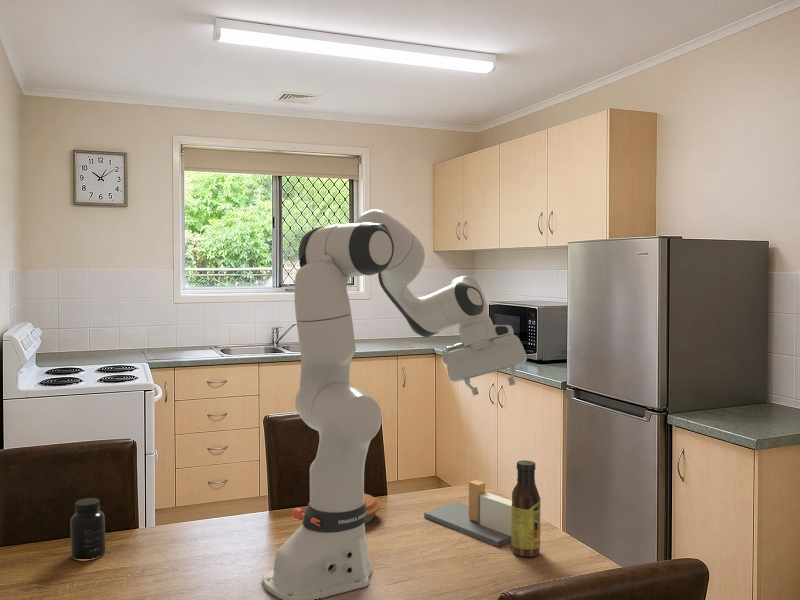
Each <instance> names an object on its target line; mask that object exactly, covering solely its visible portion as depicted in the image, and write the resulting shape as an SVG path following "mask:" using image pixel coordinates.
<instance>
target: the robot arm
mask: <svg viewBox="0 0 800 600" xmlns="http://www.w3.org/2000/svg"><path fill="white" fill-rule="evenodd" d="M425 255H426V253H425V249H424V245H423V243H422V241H420V239H419V238H418V237H417V236H416V235H415V234H414V233H413V232H412V231H411V230H410V229H409V228H407V227H406V225H404V224H403V223H401V221H399V220H398V219H397V218H395V217H393V216H392V215H390V214H388V213H387V212H384V211H383V210H381V209H380V210H379V209H370V210H368V211H365V212H363V213H362V214H361V215H359V216H358V217H357V219H356V220H355V223H345V222H344V223H343V222H341V223H337V224H336V223H335V224H331V225H327V226H318V227H315V228H313V229H311V230H309V231H307V232H306V233H304V235H303V236H302V238H301V239H300V242H299V247H298V260H299V262H298V263H299V264H298V265H299V266H300V267H299V269H298V270H297V271H296V274H295V278H294V310H295V319H296V329H297V336H298V341H299V342H298V343H299V349H300V351H299V352H300V359H301V360H300V377H299V378H300V380H299V389H298V390H297V393H296V395H295V402H294V404H295V409H296V412H297V413H298V415H299V417H300V418H301V420H302V421H303V422H304V423H305V424H306V425H307V426H308V427H309V428H311V429H313V430H314V431H318V435H319V440H318V441H319V443H318V446H317V447H318V448H317V452H316V456H315V459H314V460H313V461H312V463H311V464H310V467H309V502H308V503H307V508H306V510H304V509H301V508H300V507H296V508H294V509H293V511H292V517H293V518H295V519H297V520H300V521H302V524H301V525H300V526H299V527H298V528H297V529H296V530H295V532H293V534H292V535H291V536H290V537H289V538H288V539H287V540H286V541H285V542H283V544H282V545H281V546H280V547H279V548H278V549H277V551H276V554H275V557H274V565H273V569H272V570H270V571H268V572H266V573H264V574H263V575H262V581H261V582H262V585H263V587H264V588H265V590H267V592H268V593H270V594H271V595H273V596H275V597H276V598H278V599H280V600H314V599H317V600H319V598H320V599H323V598H327V597H331V595H332V596H334V595H339V594H342V593H346V592H350V591H353V590H358V589H360V588H361V589H362V588H365V587H367V586H369V585H370V579H369V578H370V575H372V573H373V566H372V563H371V560H370V559H371V558H370V554H369V551H368V545H367V538H366V526H365V525H366V524H365V521H366V502H365V501H364V494H365V465H366V459H367V455H368V452H369V447H370V443H371V441H372V440H373V438H375V437H376V435H377V434H378V432H379V431H380V429H381V425H382V419H383V416H382V415H383V414H382V411H381V408H380V407H381V406H380V405H379V403H378V402H377V401H376V400H375V399H374V398H373V397H372V396H371V395H370V394H369V393H368V392H366V391H364V390H363V389H361V388H357V387H354V386H352V385H351V382H350V372H351V371H350V369H351V362H352V360H353V357H354V356H355V353H356V348H357V347H356V338H355V331H354V326H353V325H354V324H353V317H352V309H351V304H350V299H349V294H348V290H347V289H348V282H349V279H350V278H355V277H360V276H373V275H377V276H378V282H379V285H380V287H381V288H382V290H383V292H384V293H385V294H386V296H387V297H388V298H389V300H390V301H391V302H392V303H393V305H394V306H395V307H396V309H398V311H399V312H400V313H401V315H402V316H403V317H404V319H406V322H407V324H408V325H409V327H410V329H411V330H412V331H413V332H414V333H415V334H416V335H419V336H421V337H423V338H431V337H432V336H434V335H436V334H438V333H440V332H441V331H444V330H447V329H449V328H451V327H454V326H456V325H458V333H459V336H460V340H461V342H459V343H456V344H454V345H449V346H446V347H445V348H444V349H443V350H442V352H441V359H442V361H443V363H444V364H445V365H446V370H447V375H448V378H449V381H450V382H452V383H458V382H462V381H464V385H466V386H467V387H468V388H469V389H470V390H471V393H472V396H473V397H475V396H478V395H480V394H479V391H478V390H479V389H478V387H477V386H473V385H472V384H471V379H474V378H476V377H481V376H483V375H487V374H491V373H494V372H495V373H496V372H498V371H502V370H505V369H509V372H511V375H510V377H508V378H507V381H508V385H509V387H511V386H515V385H516V380H515V375H516V369H517V368H516V367H517V366H520V365H523V364H525V363H526V362H527V360H528V356H527V353H526V350H525V348H524V346H523V343H522V342H521V339H520V338H519V336H517V335H516V334H514V328H513V327H512V325H509V324H507V325H506V324H493V321H492V319H491V317H490V316H489V315H490V314H489V310H488V308H489V307H488V303H487V300H486V297H485V295H484V292H483V290H482V288H481V287H482V286H481V285H480V284H479V282H478V280H477V278H475V277H474V276H470V275H462V276H459V277H455V278H453V279H452V280H451V281H450V282H449V284H448V285H447V286H445V287H442V288H441V289H438V290H437V291H434V292H432V293H429V294H427V295H424V296H419V297H418V296H415V295H414V294H413V293H412V290H410V289H409V287H408V285H410V284H411V282H413V281H414V280H415V279H416V278H417V277H418V276H419V275H420V273H421V271H422V269H423V267H424V264H425V257H426V256H425Z"/></svg>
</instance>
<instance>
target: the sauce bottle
mask: <svg viewBox="0 0 800 600" xmlns="http://www.w3.org/2000/svg"><path fill="white" fill-rule="evenodd" d="M516 470H517V478H516V482H517V483H516V484H515V487H513V490H512V492H511V499H512V521H511V542H510V543H511V552H512V553H514V554H515V555H516V556H519V557H524V558H531V557H532V558H533V557H535V556H538V555H539V553H540V547H541V497H540V494H539V491H538V489H537V484H536V480H535V478H536V476H535V474H536V473H535V471H536V462H534V461H532V460H525V459H523V460H518V461H517V462H516Z"/></svg>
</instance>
